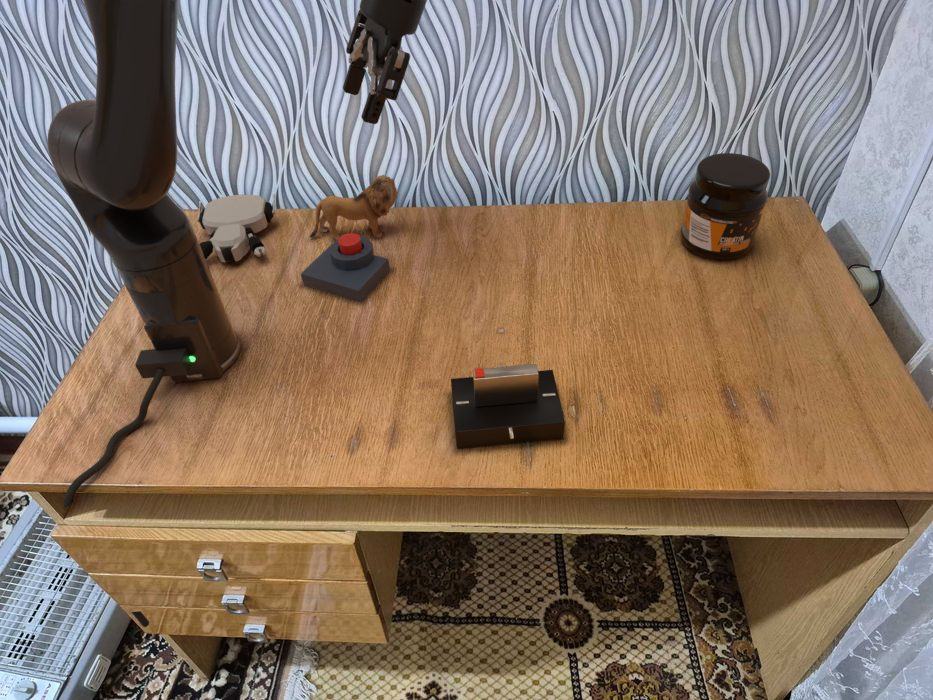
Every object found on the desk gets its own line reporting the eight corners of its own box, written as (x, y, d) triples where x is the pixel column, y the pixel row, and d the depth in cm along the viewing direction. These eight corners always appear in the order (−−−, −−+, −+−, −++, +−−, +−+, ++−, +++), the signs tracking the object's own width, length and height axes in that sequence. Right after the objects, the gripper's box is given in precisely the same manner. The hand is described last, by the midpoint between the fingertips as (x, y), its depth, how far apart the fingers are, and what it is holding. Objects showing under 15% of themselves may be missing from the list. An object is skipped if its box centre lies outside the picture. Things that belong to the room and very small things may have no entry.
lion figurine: (399, 216, 108) (392, 166, 102) (404, 234, 104) (397, 183, 98) (309, 231, 106) (296, 181, 100) (311, 250, 103) (297, 199, 96)
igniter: (394, 265, 99) (391, 243, 96) (361, 302, 93) (356, 280, 90) (339, 251, 102) (334, 229, 99) (303, 285, 96) (297, 263, 93)
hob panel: (549, 377, 81) (550, 358, 78) (566, 450, 73) (567, 432, 70) (451, 386, 80) (449, 367, 78) (457, 460, 72) (455, 442, 70)
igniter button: (366, 245, 96) (364, 235, 95) (354, 258, 94) (352, 247, 93) (348, 241, 97) (346, 231, 96) (336, 253, 95) (333, 243, 94)
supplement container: (683, 262, 96) (699, 188, 87) (674, 221, 103) (688, 150, 95) (759, 263, 94) (782, 189, 86) (745, 222, 102) (765, 150, 93)
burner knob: (535, 391, 75) (536, 361, 72) (537, 401, 74) (538, 372, 71) (474, 396, 75) (472, 367, 72) (475, 407, 74) (473, 378, 70)
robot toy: (273, 269, 101) (281, 210, 111) (265, 246, 97) (274, 187, 107) (192, 277, 100) (207, 217, 110) (181, 254, 97) (198, 195, 107)
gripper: (354, -46, 83) (319, 77, 92) (391, -6, 75) (348, 126, 84) (406, -26, 87) (367, 90, 96) (447, 14, 79) (401, 138, 88)
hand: (359, 107), depth 90 cm, fingers open, 8 cm apart
